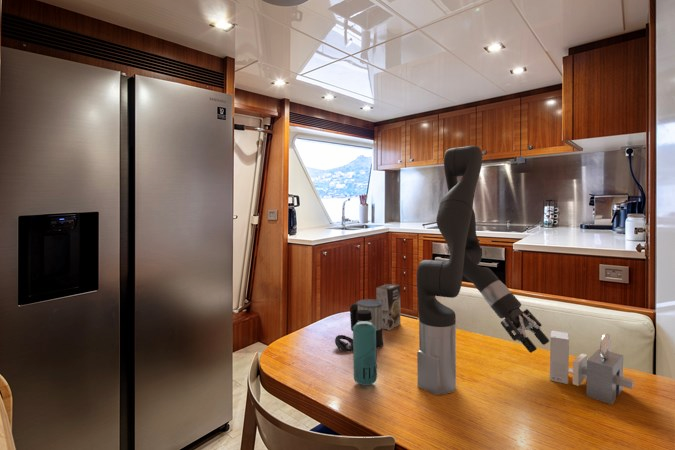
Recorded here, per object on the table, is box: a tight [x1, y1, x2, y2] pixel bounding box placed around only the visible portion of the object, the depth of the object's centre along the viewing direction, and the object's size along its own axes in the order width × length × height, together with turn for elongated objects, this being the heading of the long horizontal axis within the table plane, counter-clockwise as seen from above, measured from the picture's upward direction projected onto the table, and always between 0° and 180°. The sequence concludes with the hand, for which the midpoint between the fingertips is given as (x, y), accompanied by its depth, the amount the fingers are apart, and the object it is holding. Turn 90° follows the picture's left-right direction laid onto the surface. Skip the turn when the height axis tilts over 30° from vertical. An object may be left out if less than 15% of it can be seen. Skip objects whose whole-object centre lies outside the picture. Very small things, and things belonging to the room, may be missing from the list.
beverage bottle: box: [352, 310, 378, 386], centre depth 92 cm, size 6×7×20 cm
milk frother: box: [334, 298, 385, 352], centre depth 118 cm, size 14×16×15 cm
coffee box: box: [375, 283, 401, 331], centre depth 137 cm, size 9×6×16 cm
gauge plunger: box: [572, 353, 635, 390], centre depth 87 cm, size 11×11×6 cm
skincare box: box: [549, 330, 570, 385], centre depth 93 cm, size 6×4×12 cm
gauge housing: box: [568, 332, 624, 405], centre depth 90 cm, size 13×15×15 cm
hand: (540, 347), depth 97 cm, fingers open, 8 cm apart
